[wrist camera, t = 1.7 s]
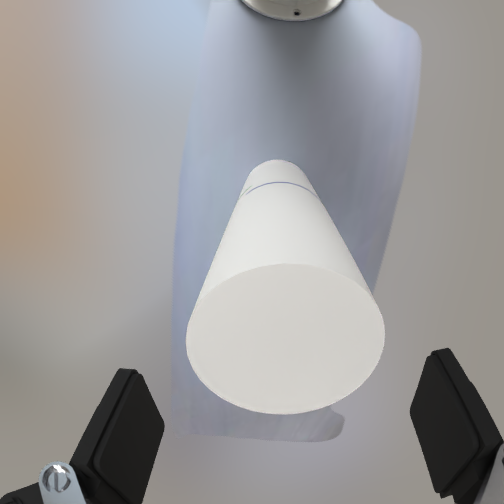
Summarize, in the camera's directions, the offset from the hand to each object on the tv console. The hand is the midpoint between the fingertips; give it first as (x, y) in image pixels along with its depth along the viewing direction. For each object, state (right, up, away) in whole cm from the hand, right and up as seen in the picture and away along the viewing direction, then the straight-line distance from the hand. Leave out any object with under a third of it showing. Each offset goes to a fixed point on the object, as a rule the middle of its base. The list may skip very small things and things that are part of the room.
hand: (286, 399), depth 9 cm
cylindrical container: (+2, +11, +25) cm, 27 cm away
